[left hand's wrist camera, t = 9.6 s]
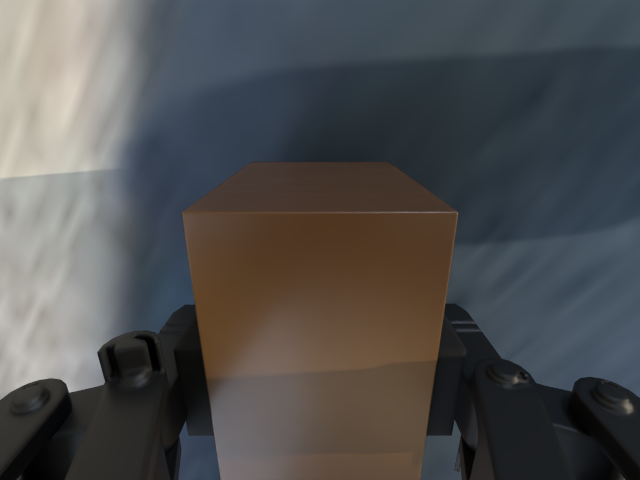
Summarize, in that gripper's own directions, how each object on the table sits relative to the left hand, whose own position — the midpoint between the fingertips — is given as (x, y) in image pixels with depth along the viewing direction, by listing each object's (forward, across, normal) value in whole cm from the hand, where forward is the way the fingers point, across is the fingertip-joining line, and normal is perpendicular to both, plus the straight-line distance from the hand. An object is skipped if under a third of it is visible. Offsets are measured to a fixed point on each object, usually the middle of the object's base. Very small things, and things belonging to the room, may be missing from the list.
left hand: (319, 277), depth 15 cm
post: (+1, 0, -33) cm, 33 cm away
